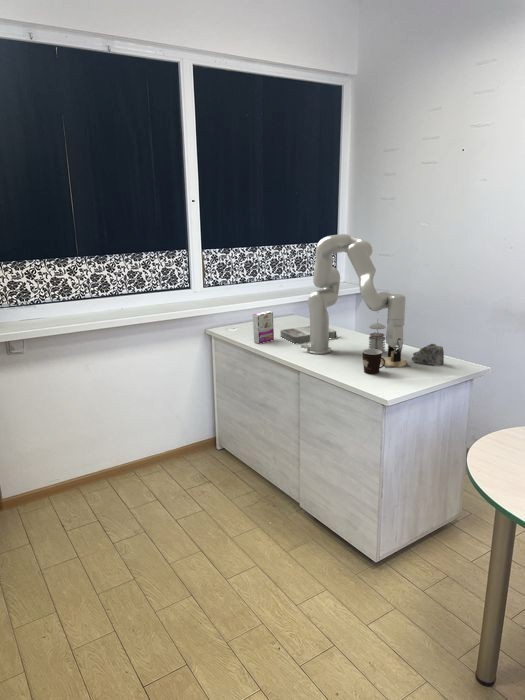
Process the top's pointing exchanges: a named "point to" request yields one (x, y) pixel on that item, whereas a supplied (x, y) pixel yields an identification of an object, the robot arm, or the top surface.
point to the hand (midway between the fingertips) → (394, 358)
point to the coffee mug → (372, 361)
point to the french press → (377, 338)
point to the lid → (390, 361)
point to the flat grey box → (301, 334)
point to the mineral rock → (429, 355)
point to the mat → (397, 367)
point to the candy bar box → (263, 327)
